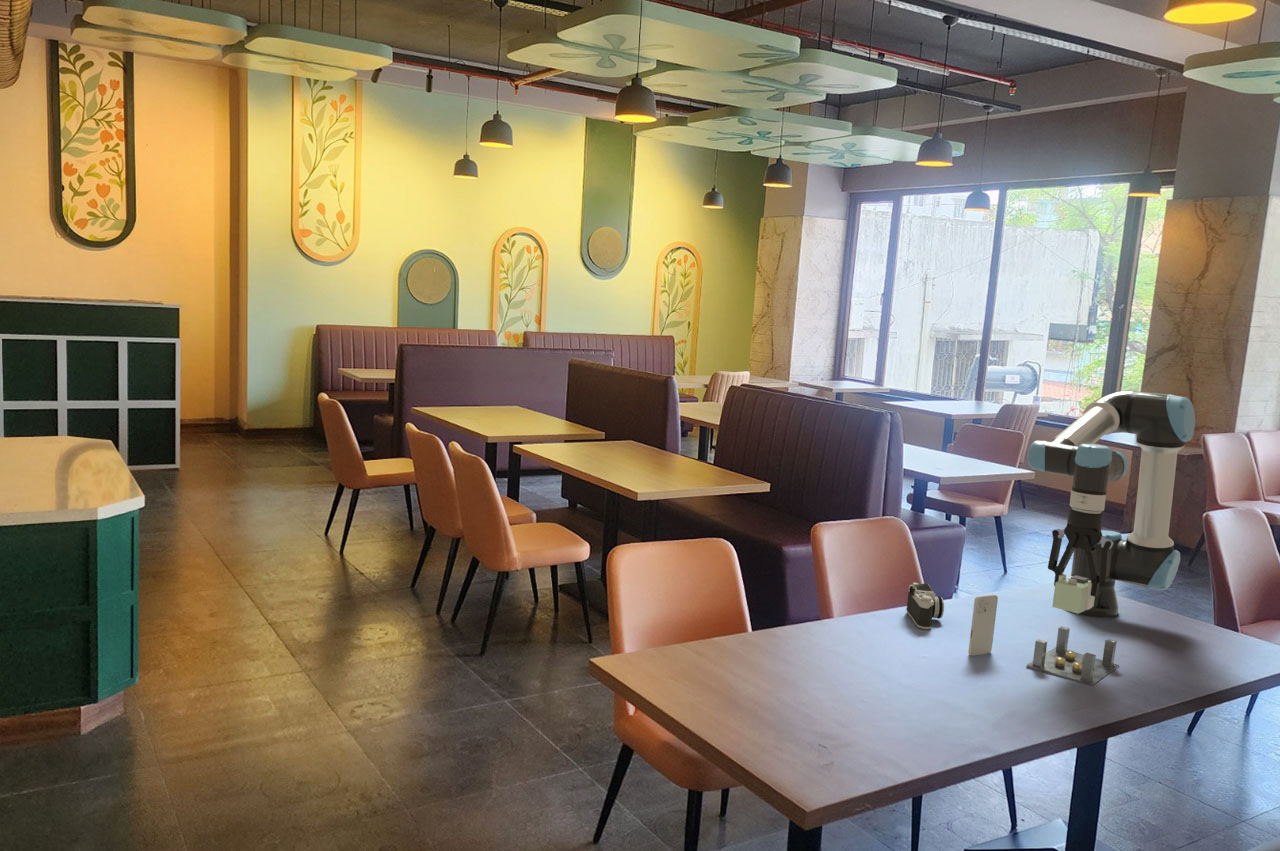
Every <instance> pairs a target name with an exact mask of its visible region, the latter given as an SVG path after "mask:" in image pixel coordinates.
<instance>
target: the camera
mask: <svg viewBox="0 0 1280 851" xmlns="http://www.w3.org/2000/svg"><path fill="white" fill-rule="evenodd" d="M905 609H906V610H905V611H906V613H907V614H908V615H909V617H910V618H911V619H912V622H913V623H914V624H915V626H916V627H917V628H920V629H923V630H931V629H932V622H933V621H932V620H933V618H935V619H937V620H938V619H941V618H943V615H944V613H945V602H944V599H943V596H940V595H938V596H937V595H936V593H935V592H934V590H933V588H932V587H931V585H930V583H928V582H926V583H919V582H912V584H910V585H909V586H908V591H907V602H906V608H905Z"/></svg>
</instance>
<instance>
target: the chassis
mask: <svg viewBox="0 0 1280 851" xmlns="http://www.w3.org/2000/svg"><path fill="white" fill-rule="evenodd" d="M1057 629H1058V630H1057V637H1056V645H1055V647H1053V648H1052V649H1050V650H1049V651H1047V649H1048V648H1047V647H1048V640H1045V639H1040V638H1039V639H1036V640H1035V642H1034V643H1035V644H1034V651H1033V659H1032V661H1030V662H1028V663H1027V664H1026V669H1031V670H1034V671H1038V672H1040V671H1041V673H1045V674H1048V673H1049V675H1051V674H1052V676H1056V677H1058V676H1059V678H1062V679H1066V680H1070V681H1073V682H1077V683H1080V684H1085V685H1087V686H1091V687H1093V686H1094V685H1096V684H1097V683H1099V682H1100V681H1101V680H1102V679H1104V678H1105V677H1107V676H1108V675H1109V674H1110V673H1112V672H1113V671H1114V670H1116V669H1117V668H1118V667H1120V665H1119V664H1117V663H1115V657H1116V648H1117V642H1118V641H1117V640H1115V639H1111V638H1107V639H1105V640H1104V645H1103V646H1104V647H1103V655H1102V659H1099V658H1097V657H1096V656H1097V655H1096V654H1094V653H1090V652H1085V653H1083V654H1082V653H1078V652H1076V651H1074V650H1068V644H1069V637H1070V636H1069V635H1070V627H1067V626H1062V625H1061V626H1059V627H1058V628H1057Z"/></svg>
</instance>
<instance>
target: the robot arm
mask: <svg viewBox="0 0 1280 851" xmlns="http://www.w3.org/2000/svg"><path fill="white" fill-rule="evenodd" d="M1195 429H1196V412H1195V407H1194V405H1193V402H1191V400H1190V399H1189V398H1188V397H1185V396H1179V395H1175V394H1167V393H1158V392H1150V391H1149V392H1147V391H1136V390H1121V391H1115V392H1112V393H1109V394H1106V395H1104V396H1101V397H1099V398H1097V399H1095V400H1094V401H1092V402H1091V403H1089V404H1088V405H1087V406H1086V407H1085V408H1084V410H1083V413H1082V415H1081V416H1079V417H1078V418H1077V419H1076V420H1074V421H1073V422H1072V423H1071V424H1070V425H1068V426H1067V427H1066V428H1065V429H1063V430H1062V431H1061V432H1059V433H1058V434H1057V435H1056V436H1055V437H1054V438H1052V439H1051V440H1049V441H1047V440H1035V441H1033V442H1032V443H1031V445H1030V446H1029V448H1028V452H1027V463H1028V466H1029V467H1030V468H1031V469H1032V470H1035V471H1036V470H1037V471H1041V472H1043V473H1049V474H1057V475H1063V476H1068V477H1069V476H1070V477H1072V485H1071V486H1072V487H1071V490H1070V498H1069V506H1070V508H1069V509H1068V513H1067V521H1066V526H1065V527H1064V529H1060V528H1057V529H1053V530H1052V531H1051V534H1052V545H1051V549H1050V553H1049V559H1048V565H1047V569H1048V570H1049V571H1052V572H1053V573H1054V575H1055V576H1054V582H1053V586H1054V587H1055V582H1058V581H1060V580H1063V579H1066V578H1067V576H1068V575H1067V573H1064V572H1065V570H1066V568H1067V566H1068V564H1069V561H1070V559H1072V563H1071V572H1070V576H1075V575H1076V576H1081V577H1085V578H1088V580H1090V582H1088V586H1087V594H1086V601H1085V609H1086V610H1085V611H1083V612H1081V613H1079V614H1078V615H1083V616H1085V617H1092V618H1114V617H1116V616H1118V614H1119V603H1118V598H1117V594H1116V589H1115V585H1116V581H1118V582H1122V583H1126V584H1131V585H1135V586H1140V587H1142V588H1147V589H1151V590H1158V591H1164V590H1167V589H1168V588H1169V587H1170V586H1171V585H1172V583H1173V581H1174V580H1175V577H1176V575H1177V572H1178V569H1179V567H1180V563H1181V552H1180V551H1179V550H1177V549H1174V546H1175V542H1174V541H1173V539H1172V538H1171V537H1170V536H1169V533H1170V526H1171V525H1170V524H1171V515H1172V507H1173V506H1172V505H1173V495H1174V487H1175V478H1176V469H1177V468H1176V467H1177V460H1178V452H1179V451H1180V450H1182V449H1184V447H1185V446H1186V445H1185V444H1186V442H1190V441H1191V440H1192V439H1193V437H1194V434H1195ZM1116 432H1117V433H1125V434H1132V435H1136V440H1135V442H1136V444H1137V445H1138V446H1139V447H1140V448H1141V453H1140V465H1139V472H1138V474H1139V475H1138V484H1137V494H1136V504H1135V511H1134V512H1135V514H1134V521H1133V522H1134V525H1133V531H1132V532H1131V533H1129V534H1128V535H1126V539H1122V538H1123V536H1122V533H1120V532H1117V531H1113V530H1102V529H1103V521H1104V514H1103V512H1104V511H1105V508H1106V507H1105V506H1106V498H1107V493H1108V492H1107V491H1108V484H1109V483H1113V482H1117V481H1118V480H1120V479H1122V478H1123V477H1124V476H1126V474H1127V472H1128V470H1129V461H1128V459H1127V457H1126V456H1125V455H1124V453H1122V452H1120V451H1119V450H1114V449H1112V448H1110V446H1107V445H1102V444H1096V443H1097V442H1098V441H1099V440H1100V439H1101V438H1102V437H1104V436H1108V435H1111V434H1113V433H1116ZM1064 535H1065V536H1064ZM1064 537H1066V539H1067V541H1068V543H1067V544H1066V546H1065V549H1064V552H1063V554H1062V556H1061V558H1060V560H1059V556H1060V552H1061V549H1062V548H1061V547H1062V540H1063V538H1064ZM1072 556H1073V557H1072ZM1071 557H1072V558H1071ZM1093 596H1094V597H1095V600H1094V606H1093V607H1092V603H1093Z"/></svg>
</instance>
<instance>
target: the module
mask: <svg viewBox="0 0 1280 851" xmlns="http://www.w3.org/2000/svg"><path fill="white" fill-rule="evenodd" d="M1088 582H1090V580H1088V578H1085V577H1081V576H1076V575H1075V576H1071V575H1070V576H1069V577H1066V579H1063V580H1060V581H1058V582H1055V586H1054V591H1053V600H1052V608H1054V609H1059V610H1062V611H1067V612H1069V613H1074V614H1078V615H1080V614H1079V613H1081V612H1083V611H1085V610H1086V609H1085V601H1086V594H1087V586H1088ZM1094 600H1095V597H1094V596H1093V603H1092V607H1093V606H1094Z"/></svg>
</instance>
